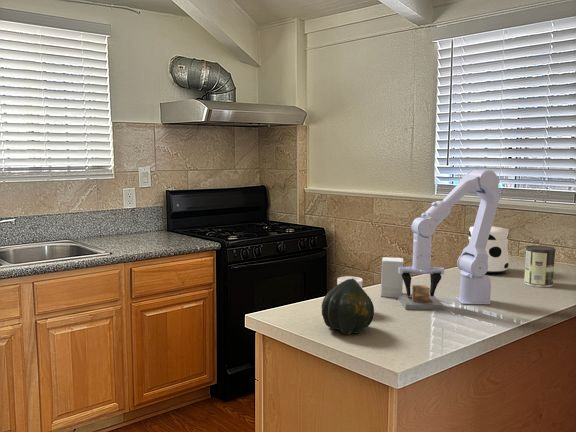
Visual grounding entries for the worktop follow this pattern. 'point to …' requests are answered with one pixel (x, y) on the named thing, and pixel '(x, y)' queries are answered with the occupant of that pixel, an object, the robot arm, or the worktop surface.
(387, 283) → the supplement box
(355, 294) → the squash
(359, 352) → the worktop surface
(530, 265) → the coffee can
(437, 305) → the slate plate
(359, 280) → the white cup
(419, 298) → the brown block
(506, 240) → the milk container
